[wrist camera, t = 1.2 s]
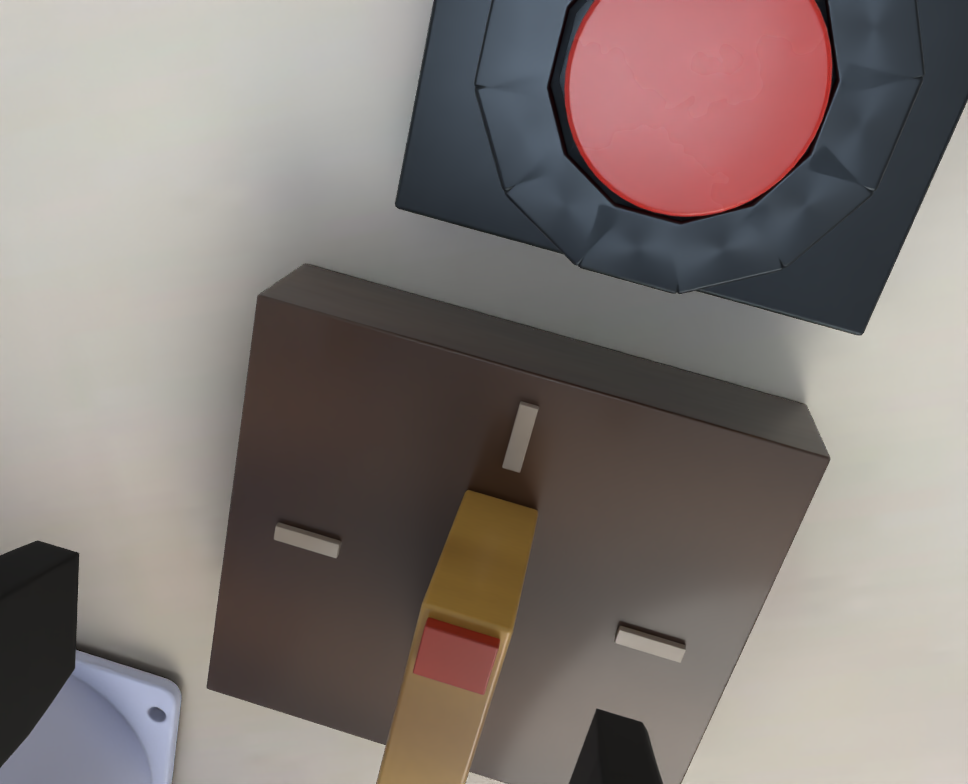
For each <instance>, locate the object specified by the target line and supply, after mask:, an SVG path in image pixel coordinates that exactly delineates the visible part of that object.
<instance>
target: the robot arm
mask: <svg viewBox="0 0 968 784" xmlns="http://www.w3.org/2000/svg"><path fill="white" fill-rule="evenodd" d="M78 572H79V553H77V552H74V551H71V550H67V549H64V548H61V547H57V546H54V545H51V544H47V543H44V542H41V541H35V542H32V543H30V544H27V545H25V546H22V547H20V548H17V549H15V550H12V551H10V552H7V553H5V554H3V555H0V784H172V777H173V768H174V760H175V751H176V742H177V734H178V725H179V716H180V707H181V699H182V696H181V691H180V689H179V688H178V686H177V685H176V684H175V683H174V682H173V681H171V680H169V679H167V678H163V677H160V676H157V675H154V674H151V673H148V672H144V671H141V670H138V669H135V668H132V667H129V666H126V665H122V664H119V663H116V662H113V661H110V660H107V659H103V658H100V657H97V656H94V655H91V654H88V653H84V652H81V651H78V650H76V629H77V601H78ZM159 708H160V709H162V710H163V711H162V710H160V709H159ZM569 784H663V781H662V778H661V775H660V772H659V769H658V765H657V762H656V759H655V755H654V752H653V748H652V745H651V741H650V738H649V734H648V731H647V729H646V727H645V726H644V724H643V722H640V721H637V720H634V719H630V718H627V717H624V716H620V715H617V714H614V713H610V712H607V711H604V710H600V709H597V708H596V711H595V714H594V717H593V719H592V722H591V725H590V727H589V730H588V733H587V736H586V738H585V741H584V744H583V746H582V749H581V752H580V754H579V757H578V760H577V763H576V765H575V768H574V771H573V773H572V776H571V779H570V782H569Z"/></svg>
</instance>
